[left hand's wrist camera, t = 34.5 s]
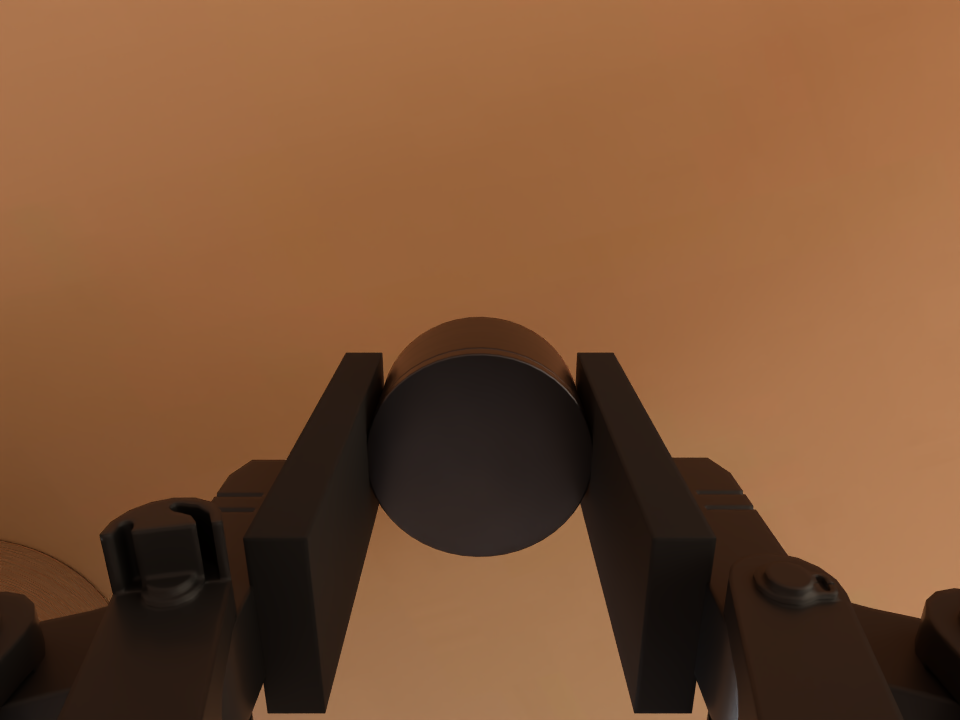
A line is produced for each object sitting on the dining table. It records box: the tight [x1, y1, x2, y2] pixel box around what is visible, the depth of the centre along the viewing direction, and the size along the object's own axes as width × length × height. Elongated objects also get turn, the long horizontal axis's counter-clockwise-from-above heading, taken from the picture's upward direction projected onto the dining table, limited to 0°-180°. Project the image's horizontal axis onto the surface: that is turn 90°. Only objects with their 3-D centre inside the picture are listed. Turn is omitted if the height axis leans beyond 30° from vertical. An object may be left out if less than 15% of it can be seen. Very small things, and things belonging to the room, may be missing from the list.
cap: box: [367, 317, 593, 557], centre depth 13 cm, size 4×4×2 cm
